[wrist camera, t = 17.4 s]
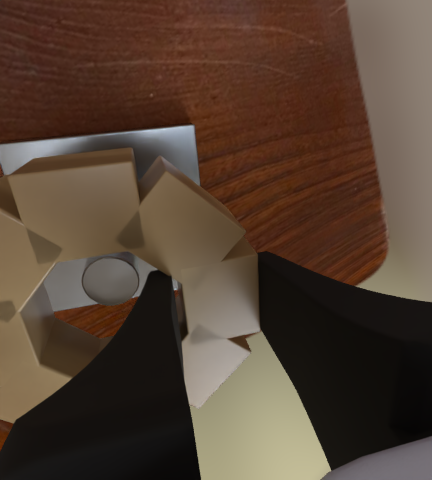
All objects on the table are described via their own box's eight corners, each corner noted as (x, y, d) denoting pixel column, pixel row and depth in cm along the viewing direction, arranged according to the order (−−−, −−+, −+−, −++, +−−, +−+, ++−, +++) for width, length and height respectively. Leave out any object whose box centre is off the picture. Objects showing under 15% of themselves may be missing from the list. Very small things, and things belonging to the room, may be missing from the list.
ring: (231, 135, 11) (255, 146, 9) (244, 355, 15) (262, 400, 13) (-89, 171, 10) (-153, 194, 7) (15, 406, 13) (-7, 467, 11)
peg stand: (191, 122, 18) (224, 139, 11) (206, 275, 21) (238, 353, 15) (0, 141, 16) (-84, 173, 10) (52, 303, 20) (15, 402, 13)
